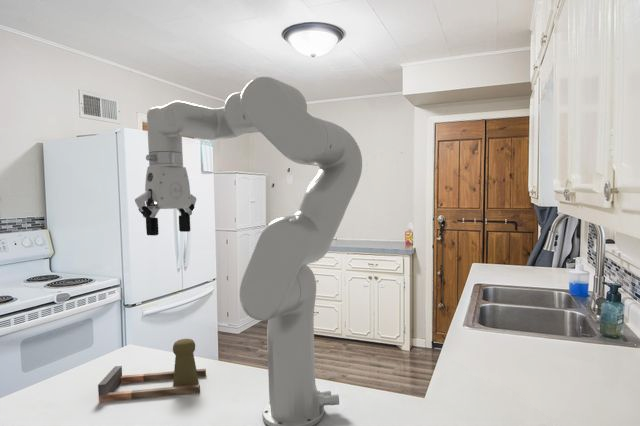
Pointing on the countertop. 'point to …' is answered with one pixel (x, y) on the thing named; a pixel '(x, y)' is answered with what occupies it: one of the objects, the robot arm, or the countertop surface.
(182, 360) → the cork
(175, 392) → the guide channel
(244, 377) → the countertop surface
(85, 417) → the countertop surface
